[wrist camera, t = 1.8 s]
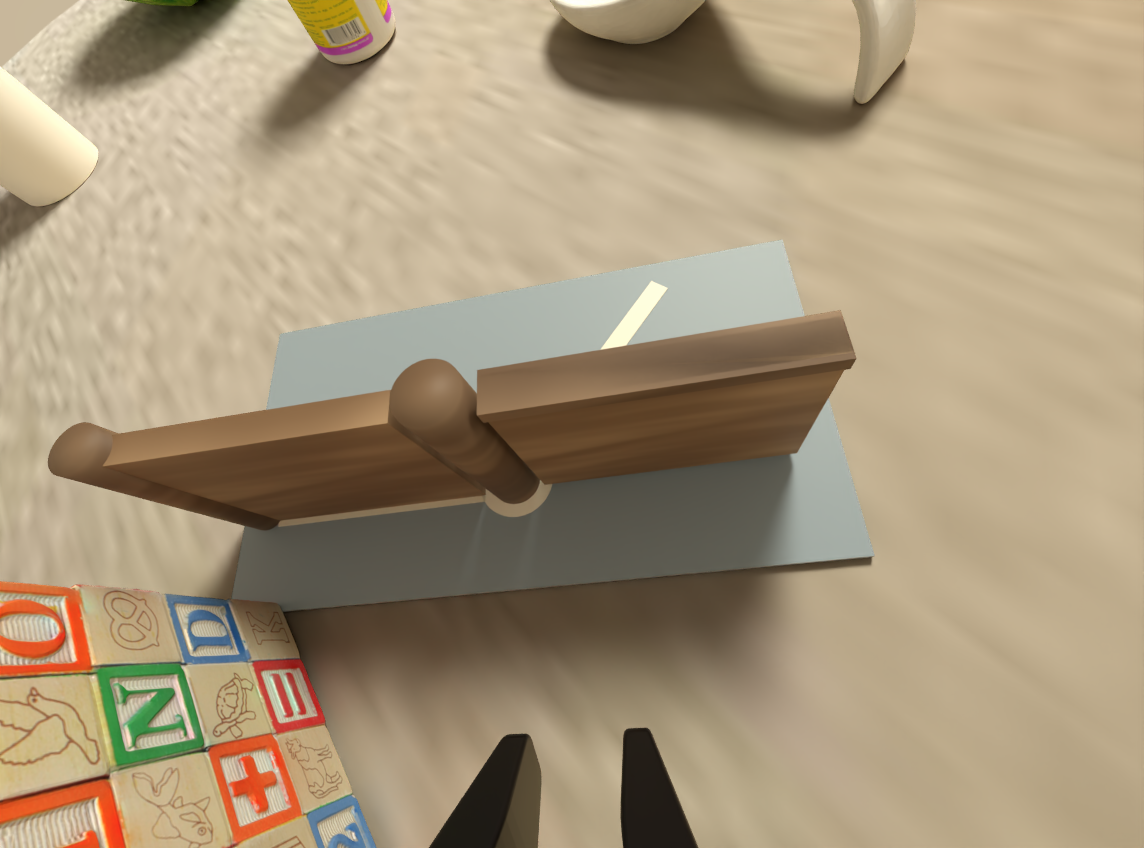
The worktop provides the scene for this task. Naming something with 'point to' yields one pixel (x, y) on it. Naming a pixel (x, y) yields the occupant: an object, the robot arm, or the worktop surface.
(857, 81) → the spoon rest
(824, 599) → the worktop surface
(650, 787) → the robot arm
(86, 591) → the stack of blocks
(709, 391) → the wooden board
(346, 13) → the supplement bottle
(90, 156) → the cylindrical container
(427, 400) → the fence post and fixed panel
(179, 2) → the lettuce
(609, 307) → the card
